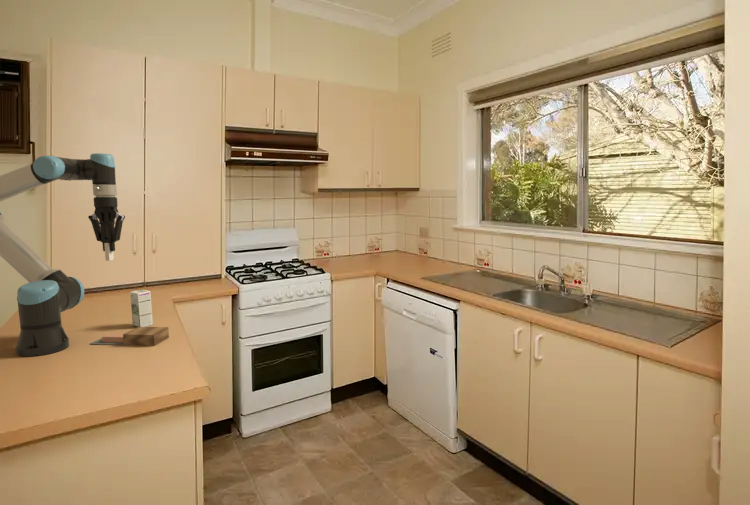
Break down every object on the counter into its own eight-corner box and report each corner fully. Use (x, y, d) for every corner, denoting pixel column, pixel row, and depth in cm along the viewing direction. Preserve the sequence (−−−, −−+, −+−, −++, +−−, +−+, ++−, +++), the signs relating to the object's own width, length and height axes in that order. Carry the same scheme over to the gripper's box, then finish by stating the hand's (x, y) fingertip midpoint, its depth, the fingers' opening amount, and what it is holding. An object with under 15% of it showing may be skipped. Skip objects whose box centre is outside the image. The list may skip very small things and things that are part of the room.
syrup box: (153, 324, 194) (151, 290, 192) (139, 328, 189) (137, 293, 187) (145, 322, 197) (143, 289, 195) (131, 326, 192) (129, 291, 190)
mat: (89, 344, 168) (89, 343, 168) (107, 336, 178) (107, 335, 178) (124, 345, 167) (124, 344, 167) (140, 336, 177) (140, 336, 177)
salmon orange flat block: (102, 342, 170) (101, 336, 170) (112, 337, 176) (112, 332, 176) (126, 342, 169) (125, 337, 169) (135, 337, 175) (135, 332, 175)
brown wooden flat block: (123, 345, 167) (123, 334, 167) (139, 336, 177) (138, 326, 177) (154, 345, 167) (153, 335, 166) (168, 337, 176) (168, 327, 176)
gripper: (81, 196, 168) (86, 261, 171) (115, 196, 167) (120, 261, 170) (95, 196, 176) (99, 258, 179) (128, 196, 175) (132, 258, 178)
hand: (109, 260), depth 174 cm, fingers closed
